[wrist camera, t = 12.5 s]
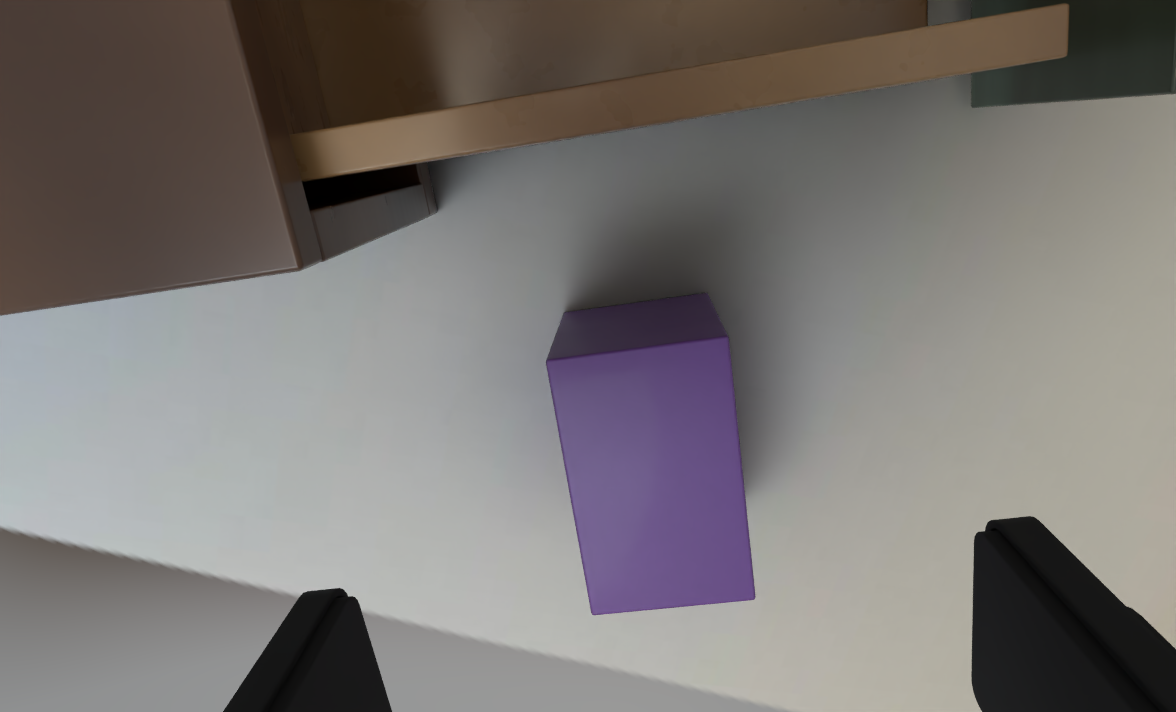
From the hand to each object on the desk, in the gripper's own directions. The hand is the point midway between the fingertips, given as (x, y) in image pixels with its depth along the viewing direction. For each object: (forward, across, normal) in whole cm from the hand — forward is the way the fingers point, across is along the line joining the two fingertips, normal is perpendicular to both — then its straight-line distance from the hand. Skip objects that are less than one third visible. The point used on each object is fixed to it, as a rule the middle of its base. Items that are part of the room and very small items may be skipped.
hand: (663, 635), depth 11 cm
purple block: (+11, 0, +1) cm, 11 cm away
